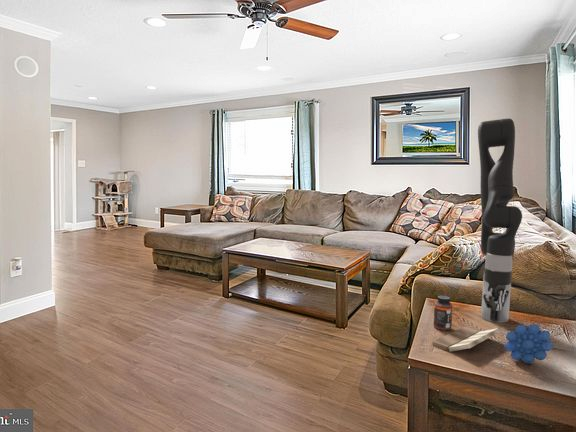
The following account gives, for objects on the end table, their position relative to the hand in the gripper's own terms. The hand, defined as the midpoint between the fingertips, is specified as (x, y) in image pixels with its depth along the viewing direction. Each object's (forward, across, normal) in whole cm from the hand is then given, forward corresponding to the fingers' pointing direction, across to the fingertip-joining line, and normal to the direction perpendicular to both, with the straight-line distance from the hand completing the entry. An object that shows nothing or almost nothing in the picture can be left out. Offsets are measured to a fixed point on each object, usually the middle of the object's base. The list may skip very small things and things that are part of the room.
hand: (494, 320), depth 117 cm
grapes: (+8, +4, +12) cm, 15 cm away
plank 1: (+6, +12, -2) cm, 14 cm away
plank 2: (+6, +1, -2) cm, 7 cm away
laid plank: (+8, +7, -8) cm, 13 cm away
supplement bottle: (+8, +2, -17) cm, 19 cm away
